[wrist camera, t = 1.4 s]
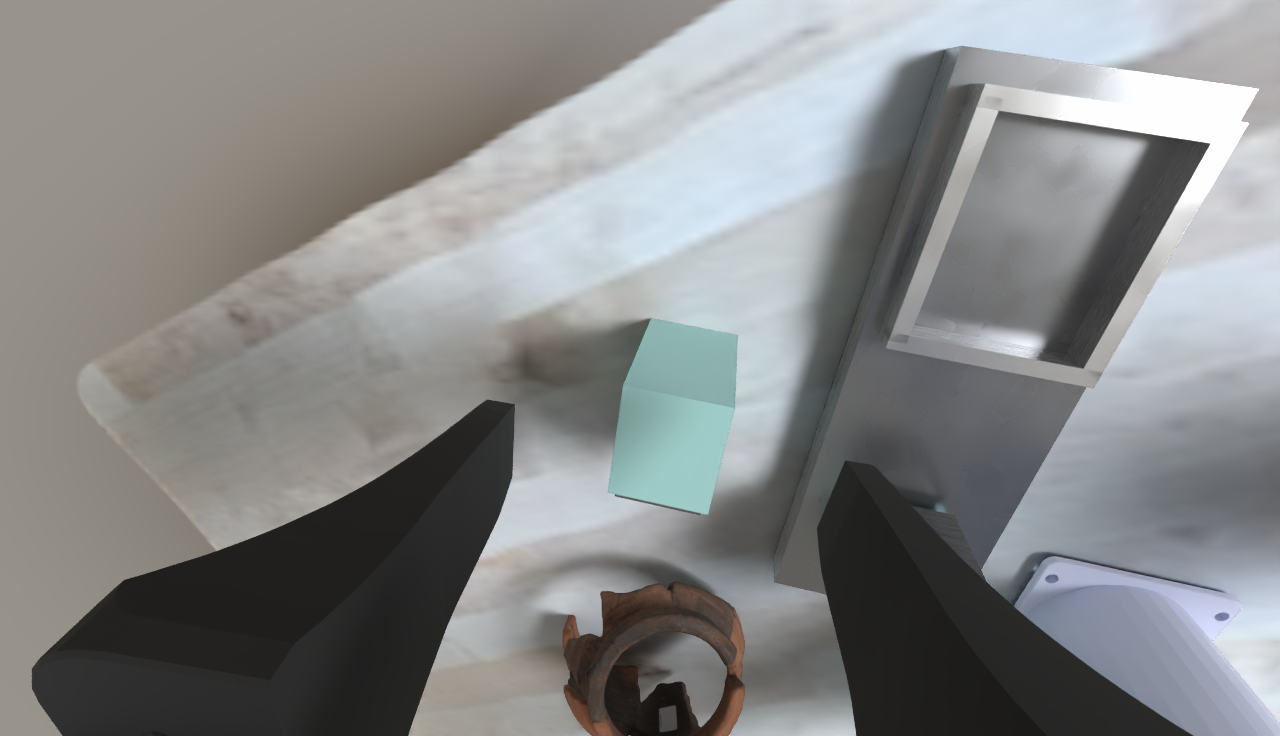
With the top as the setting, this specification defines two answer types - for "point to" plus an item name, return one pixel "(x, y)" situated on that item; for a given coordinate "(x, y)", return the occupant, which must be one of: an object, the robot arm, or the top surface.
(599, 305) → the top surface
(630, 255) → the top surface
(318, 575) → the robot arm
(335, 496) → the top surface
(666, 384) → the pale aqua cube
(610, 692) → the brown looped piece
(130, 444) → the top surface
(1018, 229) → the grey long flat piece
